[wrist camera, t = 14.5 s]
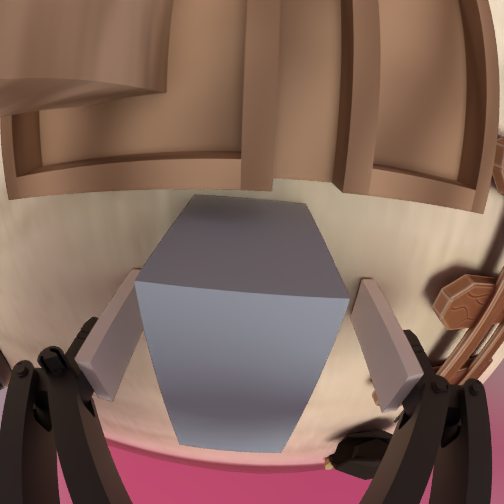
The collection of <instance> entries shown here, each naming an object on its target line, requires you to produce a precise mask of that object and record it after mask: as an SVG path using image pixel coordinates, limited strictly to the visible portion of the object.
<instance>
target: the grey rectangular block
mask: <svg viewBox="0 0 504 504" xmlns="http://www.w3.org/2000/svg"><path fill="white" fill-rule="evenodd" d="M134 283H135V288H136V294H137V299H138V304H139V309H140V314H141V318H142V323H143V327H144V332H145V336H146V340H147V344H148V348H149V352H150V356H151V360H152V363H153V367H154V370H155V374H156V377H157V381H158V384H159V387H160V390H161V394H162V397H163V400H164V403H165V406H166V409H167V412H168V414H169V417H170V420H171V423H172V426H173V428H174V431H175V434H176V436H177V439H178V441H179V444H180V445H186V446H192V447H199V448H207V449H215V450H225V451H237V452H257V453H281V452H282V450H283V449H284V447H285V445H286V443H287V441H288V440H289V438H290V436H291V434H292V432H293V430H294V429H295V427H296V425H297V423H298V421H299V419H300V417H301V415H302V413H303V411H304V409H305V407H306V405H307V403H308V401H309V399H310V397H311V394H312V392H313V390H314V388H315V386H316V384H317V382H318V379H319V377H320V375H321V373H322V370H323V368H324V366H325V363H326V361H327V359H328V356H329V354H330V351H331V349H332V346H333V344H334V341H335V339H336V336H337V334H338V331H339V329H340V326H341V323H342V321H343V318H344V315H345V312H346V310H347V307H348V304H349V301H350V297H349V295H348V292H347V290H346V288H345V285H344V283H343V281H342V279H341V276H340V274H339V272H338V270H337V267H336V265H335V263H334V261H333V259H332V256H331V254H330V252H329V250H328V248H327V246H326V244H325V242H324V239H323V237H322V235H321V233H320V231H319V229H318V227H317V225H316V223H315V221H314V219H313V217H312V215H311V213H310V211H309V209H308V207H307V205H306V204H302V203H293V202H283V201H273V200H262V199H251V198H239V197H226V196H211V195H194V196H193V198H192V199H191V200H190V202H189V203H188V204H187V206H186V207H185V208H184V210H183V211H182V212H181V214H180V215H179V216H178V218H177V219H176V220H175V222H174V223H173V225H172V226H171V227H170V229H169V230H168V232H167V233H166V234H165V236H164V237H163V239H162V240H161V241H160V243H159V244H158V246H157V247H156V249H155V250H154V252H153V253H152V254H151V256H150V257H149V259H148V260H147V262H146V263H145V265H144V266H143V268H142V269H141V271H140V272H139V274H138V275H137V277H136V279H135V280H134Z"/></svg>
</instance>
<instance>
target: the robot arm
mask: <svg viewBox="0 0 504 504" xmlns="http://www.w3.org/2000/svg"><path fill="white" fill-rule="evenodd" d="M140 271H141V270H137V269H132V270H131V271H130V272H129V274H128V275H127V277H126V278H125V280H124V281H123V282H122V284H121V285H120V287H119V288H118V290H117V291H116V293H115V294H114V296H113V297H112V299H111V300H110V302H109V303H108V305H107V306H106V308H105V309H104V311H103V313H102V314H101V316H100V317H99V318H96V317H92V318H91V319H89V320H88V321H87V322H86V323H85V324H84V325H83V327H82V328H81V330H80V332H79V333H78V335H77V336H76V338H75V339H74V341H73V343H72V344H71V346H70V348H69V349H68V351H67V353H66V354H64V353H63V351H62V350H61V349H60V348H59V347H56V346H50V347H47V348H45V349H44V350H43V351H41V353H40V354H39V356H38V360H37V361H38V363H39V364H40V366H41V367H42V368H35V367H34V366H33V364H32V363H31V362H30V361H27V360H23V361H20V362H18V363H17V364H16V365H15V366H14V368H13V370H12V373H11V370H10V367H9V365H8V363H7V362H6V360H5V358H4V357H3V355H2V354H1V352H0V390H1V389H3V388H5V386H6V385H7V383H8V382H9V385H8V390H7V395H6V399H5V404H4V410H3V415H2V422H1V429H0V504H60V499H59V490H58V476H57V452H58V456H59V460H60V464H61V468H62V471H63V474H64V478H65V481H66V485H67V488H68V491H69V493H70V496H71V499H72V502H73V504H133V503H132V502H131V500H130V497H129V495H128V493H127V491H126V489H125V487H124V485H123V483H122V481H121V478H120V476H119V474H118V471H117V469H116V466H115V464H114V462H113V459H112V457H111V454H110V451H109V448H108V445H107V443H106V440H105V437H104V434H103V431H102V428H101V424H100V421H99V418H98V414H97V411H96V407H95V404H94V401H93V399H92V394H93V392H95V393H96V395H97V396H98V398H101V399H105V400H108V401H112V402H113V400H114V398H115V395H116V393H117V390H118V388H119V385H120V383H121V380H122V378H123V375H124V373H125V370H126V368H127V365H128V363H129V361H130V358H131V356H132V354H133V351H134V349H135V347H136V344H137V342H138V340H139V338H140V335H141V333H142V331H143V329H144V327H143V323H142V318H141V314H140V309H139V304H138V299H137V294H136V288H135V283H134V280H135V279H136V277H137V275H138V274H139V272H140ZM350 318H351V321H352V324H353V326H354V329H355V332H356V335H357V337H358V340H359V343H360V346H361V349H362V352H363V355H364V358H365V360H366V363H367V366H368V370H369V373H370V376H371V379H372V382H373V385H374V388H375V392H376V395H377V398H378V401H379V405H380V408H381V412H382V413H385V412H390V411H395V410H397V409H398V408H399V406H400V405H401V404H402V405H403V408H404V410H403V411H402V412H401V413H400V415H399V416H398V417H397V418H396V419H395V421H394V422H395V423H396V422H397V421H398V423H397V426H396V428H395V431H394V433H393V436H392V438H391V441H390V443H389V446H388V448H387V450H386V452H385V455H384V457H383V459H382V461H381V463H380V466H379V468H378V470H377V472H376V474H375V476H374V478H373V480H372V482H371V483H370V485H369V488H368V489H367V491H366V493H365V494H364V496H363V498H362V500H361V501H360V503H359V504H419V503H420V501H421V498H422V496H423V493H424V491H425V488H426V486H427V483H428V480H429V478H430V475H431V472H432V469H433V466H434V469H433V479H432V486H431V493H430V499H429V504H490V499H491V484H492V447H491V432H490V422H489V415H488V406H487V400H486V393H485V389H484V386H483V384H482V383H481V382H480V381H479V380H477V379H474V378H470V379H468V380H466V382H465V383H464V384H463V385H453V384H449V382H448V381H447V380H446V378H444V377H442V376H440V375H436V373H435V371H434V369H433V367H432V365H431V363H430V361H429V359H428V357H427V355H426V353H425V352H424V349H423V347H422V346H421V344H420V342H419V340H418V338H417V336H416V335H415V334H414V333H413V332H412V331H410V330H402V328H401V326H400V324H399V322H398V320H397V319H396V317H395V315H394V313H393V311H392V309H391V308H390V306H389V304H388V302H387V300H386V299H385V297H384V295H383V293H382V292H381V290H380V288H379V286H378V285H377V283H376V281H375V280H374V279H362V281H361V285H360V288H359V291H358V295H357V298H356V302H355V305H354V308H353V311H352V314H351V317H350ZM9 380H10V381H9Z"/></svg>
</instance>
